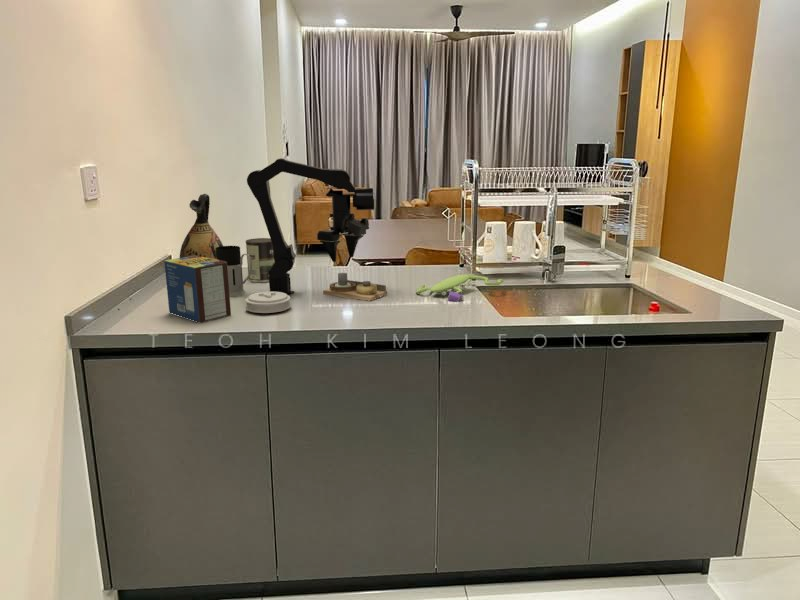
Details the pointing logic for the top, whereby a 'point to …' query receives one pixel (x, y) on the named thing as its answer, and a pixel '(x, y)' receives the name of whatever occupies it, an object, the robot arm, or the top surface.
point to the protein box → (198, 288)
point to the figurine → (455, 286)
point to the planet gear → (342, 280)
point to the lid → (268, 302)
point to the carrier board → (357, 290)
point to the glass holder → (233, 268)
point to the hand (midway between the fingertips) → (343, 259)
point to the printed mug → (260, 258)
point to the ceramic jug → (201, 232)
